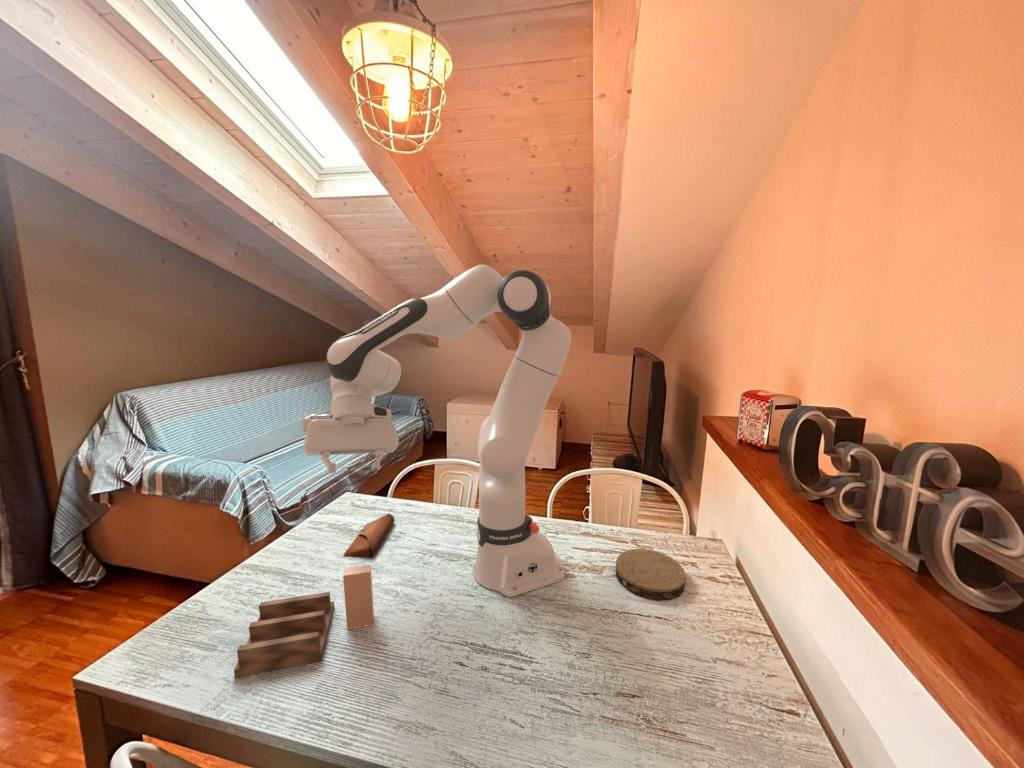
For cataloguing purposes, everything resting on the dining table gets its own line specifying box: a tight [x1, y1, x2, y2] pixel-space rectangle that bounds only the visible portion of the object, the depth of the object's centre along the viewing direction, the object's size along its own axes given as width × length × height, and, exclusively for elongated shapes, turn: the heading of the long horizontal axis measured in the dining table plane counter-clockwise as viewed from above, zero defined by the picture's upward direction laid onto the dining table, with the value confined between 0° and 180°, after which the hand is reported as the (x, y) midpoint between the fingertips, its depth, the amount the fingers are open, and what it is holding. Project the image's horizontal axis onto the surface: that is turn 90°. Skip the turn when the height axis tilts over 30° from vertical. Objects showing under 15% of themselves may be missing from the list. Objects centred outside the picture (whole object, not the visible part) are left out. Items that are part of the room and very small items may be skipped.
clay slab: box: [342, 564, 375, 630], centre depth 82 cm, size 5×2×12 cm, turn 105°
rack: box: [233, 591, 335, 678], centre depth 79 cm, size 14×14×4 cm
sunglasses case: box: [343, 513, 395, 559], centre depth 114 cm, size 18×7×7 cm, turn 179°
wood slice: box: [615, 548, 687, 602], centre depth 98 cm, size 16×16×3 cm
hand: (354, 471), depth 90 cm, fingers open, 8 cm apart
